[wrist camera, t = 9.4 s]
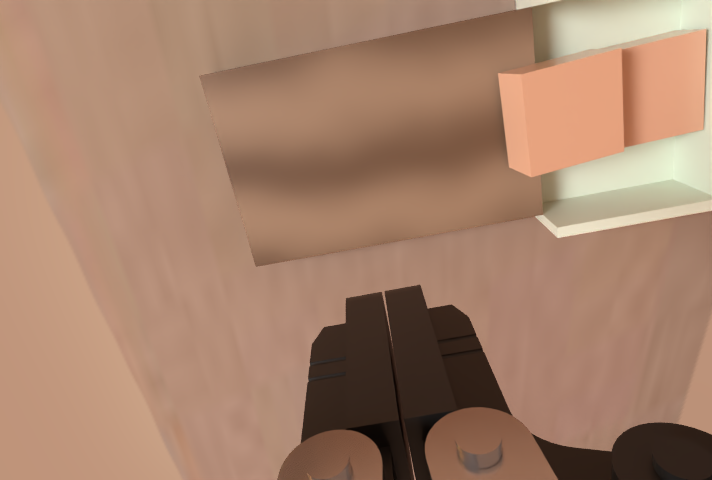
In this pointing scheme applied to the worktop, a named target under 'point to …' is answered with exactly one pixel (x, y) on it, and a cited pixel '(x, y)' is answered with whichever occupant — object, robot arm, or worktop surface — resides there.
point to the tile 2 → (663, 85)
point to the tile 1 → (563, 111)
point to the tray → (637, 163)
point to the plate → (374, 139)
